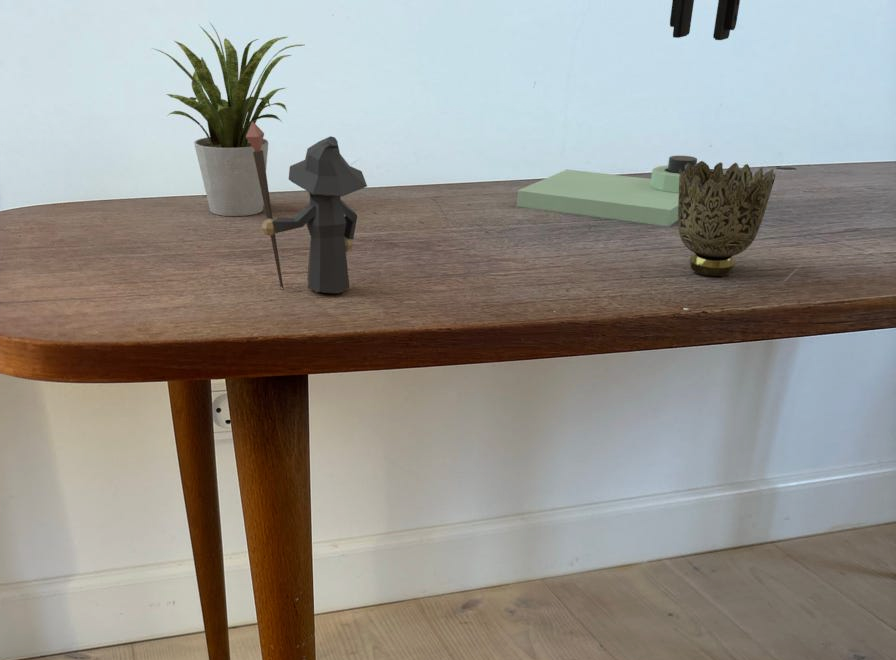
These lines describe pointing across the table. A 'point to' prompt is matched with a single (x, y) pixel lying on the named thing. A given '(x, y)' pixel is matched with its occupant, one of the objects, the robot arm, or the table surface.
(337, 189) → the wizard figurine
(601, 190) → the scale
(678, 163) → the button
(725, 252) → the cup
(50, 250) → the table surface
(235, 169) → the house plant
